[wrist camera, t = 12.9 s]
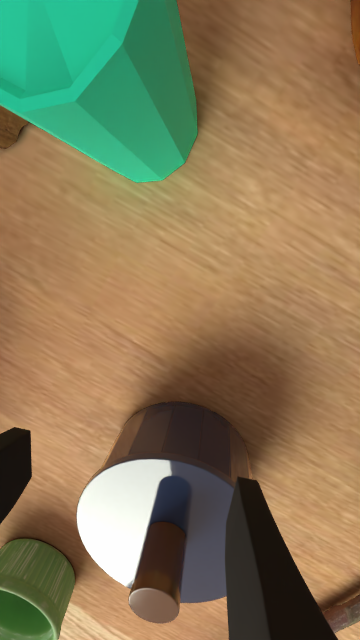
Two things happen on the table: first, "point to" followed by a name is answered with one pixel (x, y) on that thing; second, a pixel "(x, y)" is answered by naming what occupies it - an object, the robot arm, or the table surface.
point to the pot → (184, 437)
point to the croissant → (356, 26)
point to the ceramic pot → (9, 127)
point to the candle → (102, 79)
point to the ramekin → (33, 590)
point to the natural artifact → (343, 614)
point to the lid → (158, 529)
